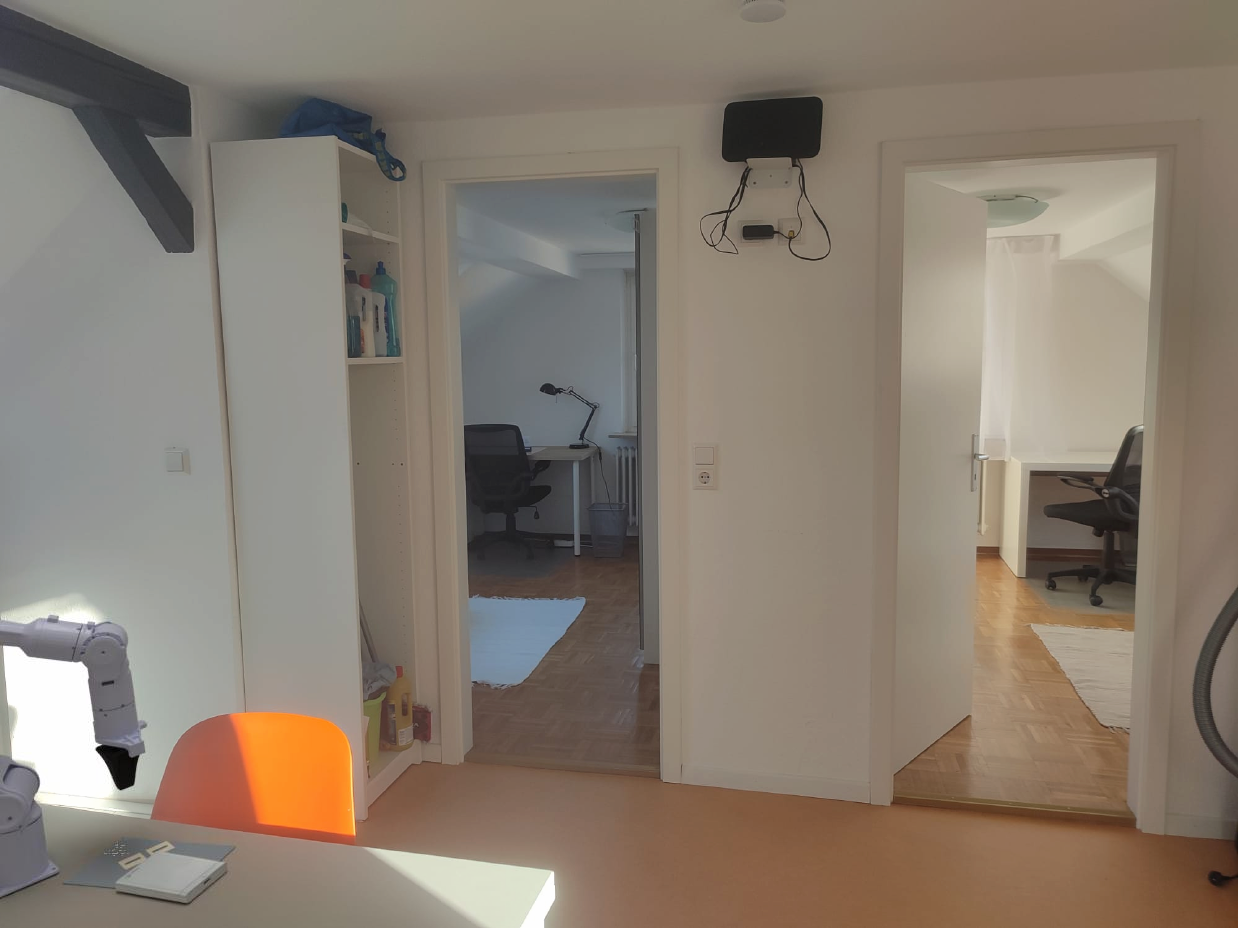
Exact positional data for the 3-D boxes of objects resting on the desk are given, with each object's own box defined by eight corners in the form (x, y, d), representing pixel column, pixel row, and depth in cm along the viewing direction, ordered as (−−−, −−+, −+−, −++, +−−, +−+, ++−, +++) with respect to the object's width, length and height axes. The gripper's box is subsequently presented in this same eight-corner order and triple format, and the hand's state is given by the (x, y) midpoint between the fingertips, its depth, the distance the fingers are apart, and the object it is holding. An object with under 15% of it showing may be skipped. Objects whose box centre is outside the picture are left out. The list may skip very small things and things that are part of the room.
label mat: (63, 883, 129) (63, 882, 129) (122, 837, 141) (122, 836, 141) (185, 894, 125) (185, 893, 125) (235, 846, 137) (235, 845, 137)
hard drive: (114, 881, 126) (185, 893, 123) (158, 849, 134) (226, 859, 130) (115, 892, 126) (186, 904, 123) (159, 859, 134) (227, 870, 131)
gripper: (161, 705, 132) (172, 789, 134) (122, 684, 141) (134, 763, 143) (110, 722, 127) (123, 809, 129) (73, 699, 136) (86, 781, 138)
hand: (125, 786), depth 136 cm, fingers closed
